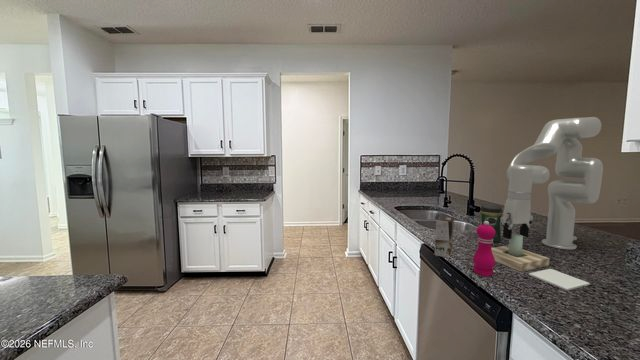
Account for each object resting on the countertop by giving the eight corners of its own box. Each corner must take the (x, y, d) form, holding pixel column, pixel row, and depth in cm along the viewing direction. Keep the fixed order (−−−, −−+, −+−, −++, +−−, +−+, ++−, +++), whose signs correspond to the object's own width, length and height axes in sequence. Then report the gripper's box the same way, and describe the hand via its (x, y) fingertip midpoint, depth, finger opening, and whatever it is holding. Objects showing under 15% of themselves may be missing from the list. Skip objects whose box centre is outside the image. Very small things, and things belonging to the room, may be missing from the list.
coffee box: (450, 258, 115) (452, 221, 113) (434, 255, 118) (435, 219, 117) (452, 251, 123) (454, 217, 121) (437, 248, 126) (438, 215, 124)
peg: (512, 257, 115) (514, 233, 114) (523, 261, 111) (525, 236, 110) (505, 259, 114) (507, 234, 112) (515, 263, 109) (517, 237, 108)
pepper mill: (468, 268, 105) (470, 218, 103) (485, 267, 105) (488, 218, 103) (480, 277, 98) (483, 223, 96) (499, 276, 98) (503, 223, 96)
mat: (550, 270, 103) (550, 268, 103) (589, 284, 92) (590, 283, 92) (528, 274, 99) (528, 273, 99) (566, 290, 88) (567, 289, 88)
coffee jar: (500, 239, 139) (502, 204, 137) (501, 243, 132) (503, 206, 130) (478, 236, 144) (480, 202, 142) (478, 240, 138) (480, 204, 135)
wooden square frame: (509, 251, 122) (509, 245, 122) (548, 265, 107) (549, 258, 107) (482, 255, 117) (483, 249, 117) (520, 271, 102) (520, 263, 102)
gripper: (524, 194, 115) (521, 232, 117) (494, 195, 110) (491, 236, 112) (543, 196, 108) (539, 238, 110) (513, 198, 103) (509, 241, 105)
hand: (515, 237), depth 111 cm, fingers open, 9 cm apart
